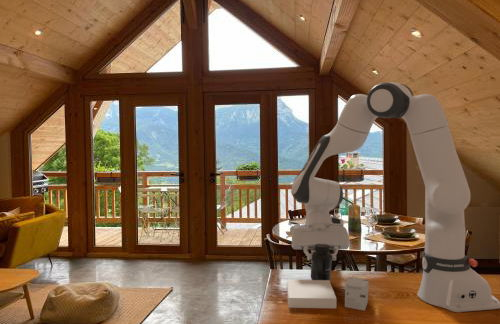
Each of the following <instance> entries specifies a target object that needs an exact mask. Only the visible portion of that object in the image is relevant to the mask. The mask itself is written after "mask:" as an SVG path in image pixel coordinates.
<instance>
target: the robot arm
mask: <svg viewBox="0 0 500 324" xmlns="http://www.w3.org/2000/svg"><path fill="white" fill-rule="evenodd" d="M349 97H350V98H348V100H347V101H346V104H345V105H344V107H343V108H342V111H341V113H340V115H339V117H338V120H337V122H336V125H335V126H334V127H333V128H332V130H331V131H330V132H329V133H327V134H324V135H322V136H321V138H320V139H319V140H318V142H317V143H316V144H315V146H314V147H313V150H312V151H311V153H310V154H309V157H308V158H307V160H306V161H305V164H304V165H303V167H302V169H301V170H300V172H299V173H298V174H297V176H296V177H295V179H294V180H293V182H292V184H291V190H290V191H291V192H290V193H291V194H292V195H291V196H292V197H293V198H294V200H295V201H296V202H297V203H298V204H299V203H300V204H304V209H305V213H306V214H305V224H293V225H291V227H290V228H289V233H290V235H291V248H292V249H293V250H303V253H304V254H305V256H306V257H307V261H311V260H312V254H313V253H310V252H309V250H315V245H316V244H327V245H329V250H333V253H330V254H331V256H332V261H337V254H338V252H339V250H348V249H349V248H350V245H351V240H350V235H349V233H348V230H347V228H346V227H345V226H344V225H345V223H344V220H343V219H342V218H338V217H334V216H331V215H330V211H333V210H335V209H336V208H337V207H338V206H339V205H341V203H343V200H344V191H343V188H342V185H341V183H340V182H338V181H335V180H330V179H324V178H319V177H316V174H317V173H318V172H319V169H320V168H321V166H322V164H323V162H324V161H325V160H326V159H327V158H329V157H331V156H334V155H341V154H348V153H352V152H356V151H357V150H359V149H361V148H362V146H363V145H365V143H366V141H367V139H368V136H369V133H370V131H371V129H372V126H373V124H374V122H375V121H376V119H377V118H381V119H382V118H383V119H400V118H401V119H402V120H404V122H405V123H406V126H407V129H408V133H409V135H410V140H411V144H412V147H413V150H414V151H413V152H414V154H415V157H416V162H417V164H418V167H419V171H420V174H421V177H422V180H423V183H424V189H425V192H424V194H425V195H424V197H425V199H424V207H425V210H424V211H425V212H424V213H425V214H424V217H425V220H424V221H425V228H424V230H425V232H424V233H425V234H424V250H423V251H422V276H421V282H420V286H419V289H418V291H417V296H418V298H419V299H420V300H422V301H423V302H425V303H428V304H430V305H432V306H436V307H439V308H444V309H446V310H448V311H451V312H453V313H454V312H455V313H461V312H462V313H464V312H474V311H475V312H476V311H486V310H489V311H490V310H497V309H500V301H499V299H498V298H497V297H495V296H494V295H493V294H492V289H491V286H490V284H489V282H488V281H487V280H486V279H485V278H484V277H482V276H481V275H480V274H479V273H477V272H476V271H475V270H474V269H473V268H476V267H477V266H478V264H479V263H478V261H477V260H475V258H470V257H469V256H467V255H465V250H466V248H465V247H466V223H465V222H466V221H465V209H467V207H468V206H469V205H470V202H471V190H470V187H469V184H468V181H467V177H466V175H465V171H464V169H463V167H462V163H461V161H460V157H459V156H458V152H457V150H456V145H455V143H454V139H453V137H452V132H451V130H450V126H449V122H448V118H447V117H446V113H445V111H444V109H443V107H442V105H441V103H440V101H439V100H438V98H437V97H436V96H435V95H433V94H429V93H423V94H419V95H414V94H413V91H412V90H411V88H410V87H408V86H407V85H406V84H402V83H399V82H394V81H390V82H381V83H378V84H376V85H374V86H373V87H372V88H371V89H370V90H369V92H368V94H363V93H357V94H353V95H351V96H349ZM471 267H473V268H471Z"/></svg>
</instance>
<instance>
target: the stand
mask: <svg viewBox="0 0 500 324" xmlns="http://www.w3.org/2000/svg"><path fill="white" fill-rule="evenodd" d="M286 295H287V296H286V297H287V303H288V304H287V305H288V308H290V309H291V308H293V309H297V308H298V309H337V302H338V301H337V296H336V294H335V291H334V289H333V286H332V284H331V280H330V281H329V280H312V279H286Z"/></svg>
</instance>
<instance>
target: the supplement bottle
mask: <svg viewBox="0 0 500 324" xmlns="http://www.w3.org/2000/svg"><path fill="white" fill-rule="evenodd" d="M311 254H312V260H310V261H311V262H310V263H311V264H310V265H311V266H310V280H329V281H330V282H331V279H332V278H331V275H332V264H333V263H332V261H333V260H332V256H331V254H332V253H330V249H329V245H327V244H316V245H315V249H314V252H312V253H311Z"/></svg>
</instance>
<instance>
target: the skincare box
mask: <svg viewBox="0 0 500 324" xmlns="http://www.w3.org/2000/svg"><path fill="white" fill-rule="evenodd" d="M369 283H370V281H369V279H364V278H358V277H352V276H349V277H348V278H347V280H346V282H345V285H344V286H345V287H344V307H345V308H349V309H354V310H359V311H366V308H367V305H368V300H369Z"/></svg>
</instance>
